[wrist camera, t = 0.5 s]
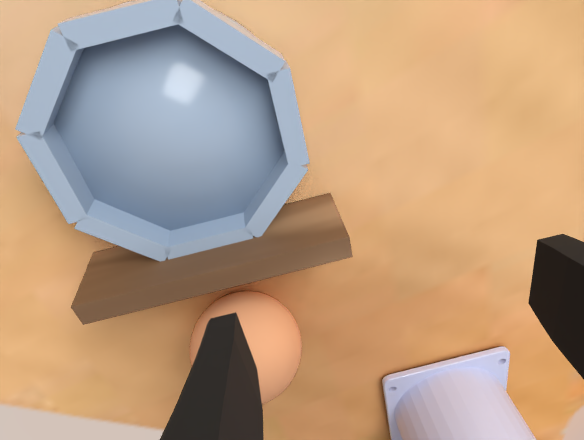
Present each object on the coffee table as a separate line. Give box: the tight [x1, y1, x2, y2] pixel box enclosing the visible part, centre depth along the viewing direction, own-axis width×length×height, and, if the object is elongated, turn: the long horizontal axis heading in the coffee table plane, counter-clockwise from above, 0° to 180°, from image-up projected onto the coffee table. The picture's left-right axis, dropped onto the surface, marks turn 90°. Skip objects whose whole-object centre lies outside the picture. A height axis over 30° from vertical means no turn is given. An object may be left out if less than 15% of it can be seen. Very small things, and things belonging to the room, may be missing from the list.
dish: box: [16, 0, 309, 262], centre depth 16 cm, size 9×9×2 cm
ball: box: [190, 291, 302, 404], centre depth 21 cm, size 5×5×5 cm
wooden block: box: [71, 193, 353, 325], centre depth 19 cm, size 1×11×4 cm, turn 102°
